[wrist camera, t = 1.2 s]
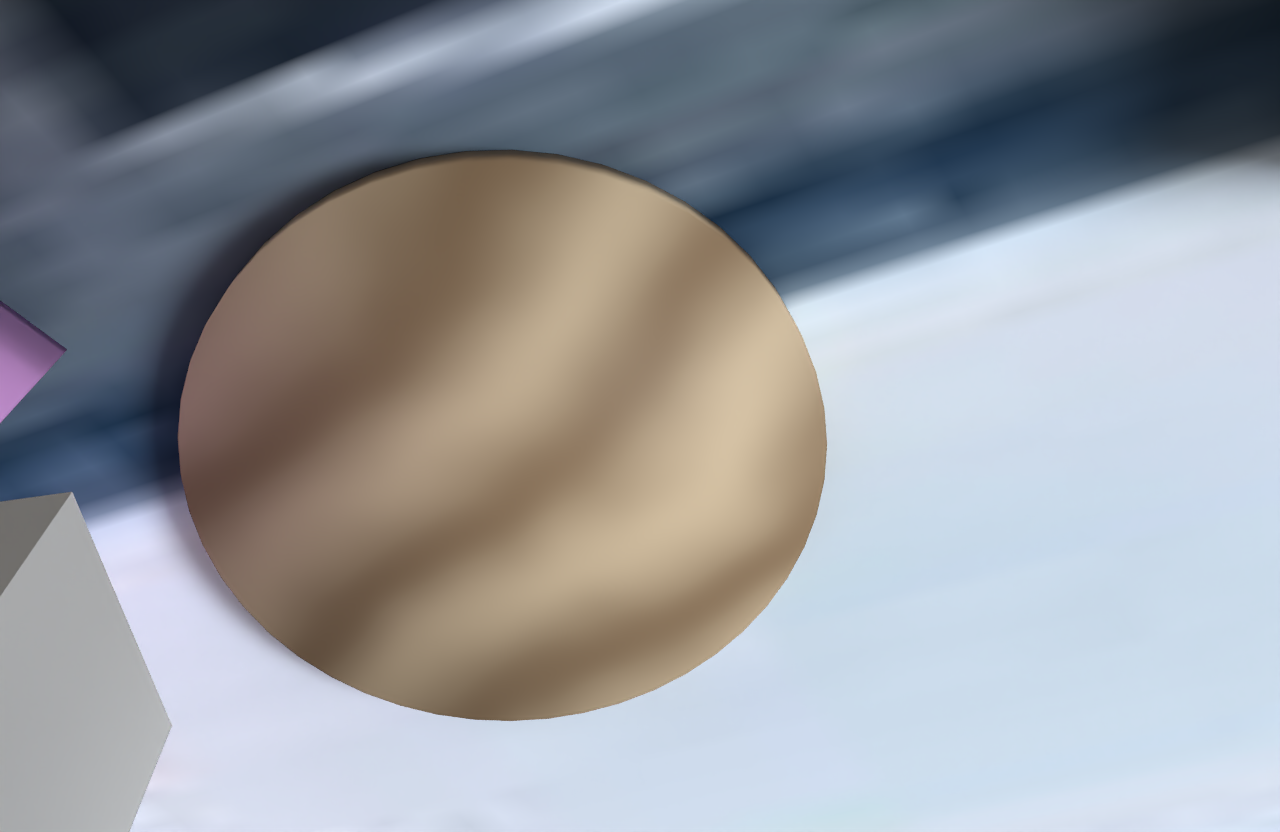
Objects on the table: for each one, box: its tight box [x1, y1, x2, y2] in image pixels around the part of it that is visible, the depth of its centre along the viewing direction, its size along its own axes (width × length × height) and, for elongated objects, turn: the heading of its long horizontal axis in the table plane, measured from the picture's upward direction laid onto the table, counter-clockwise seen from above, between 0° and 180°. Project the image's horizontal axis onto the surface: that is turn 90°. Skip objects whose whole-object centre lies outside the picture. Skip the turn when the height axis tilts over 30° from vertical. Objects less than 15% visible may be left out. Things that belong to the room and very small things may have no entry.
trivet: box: [178, 150, 827, 721], centre depth 36 cm, size 20×20×1 cm
